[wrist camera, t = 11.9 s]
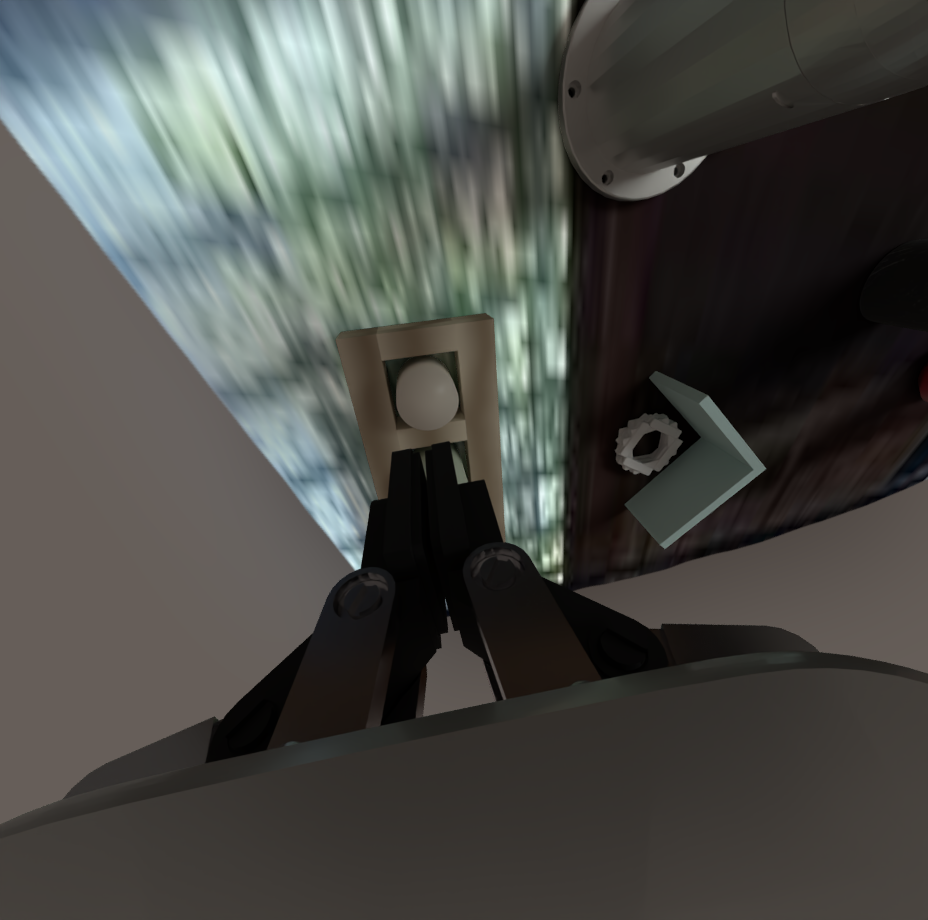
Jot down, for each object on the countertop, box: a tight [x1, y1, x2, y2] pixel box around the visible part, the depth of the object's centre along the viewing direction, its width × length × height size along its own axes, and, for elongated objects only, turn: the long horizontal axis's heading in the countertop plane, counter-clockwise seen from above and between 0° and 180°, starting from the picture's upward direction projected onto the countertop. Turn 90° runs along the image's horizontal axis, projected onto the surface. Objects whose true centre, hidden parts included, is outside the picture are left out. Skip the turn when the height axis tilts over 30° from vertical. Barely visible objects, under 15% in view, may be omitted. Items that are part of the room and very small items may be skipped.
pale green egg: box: [413, 443, 468, 484], centre depth 34 cm, size 5×5×5 cm
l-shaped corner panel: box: [615, 371, 766, 548], centre depth 37 cm, size 12×12×8 cm
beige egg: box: [396, 355, 459, 431], centre depth 30 cm, size 5×5×5 cm
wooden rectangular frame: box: [336, 313, 505, 542], centre depth 35 cm, size 12×26×3 cm, turn 6°
